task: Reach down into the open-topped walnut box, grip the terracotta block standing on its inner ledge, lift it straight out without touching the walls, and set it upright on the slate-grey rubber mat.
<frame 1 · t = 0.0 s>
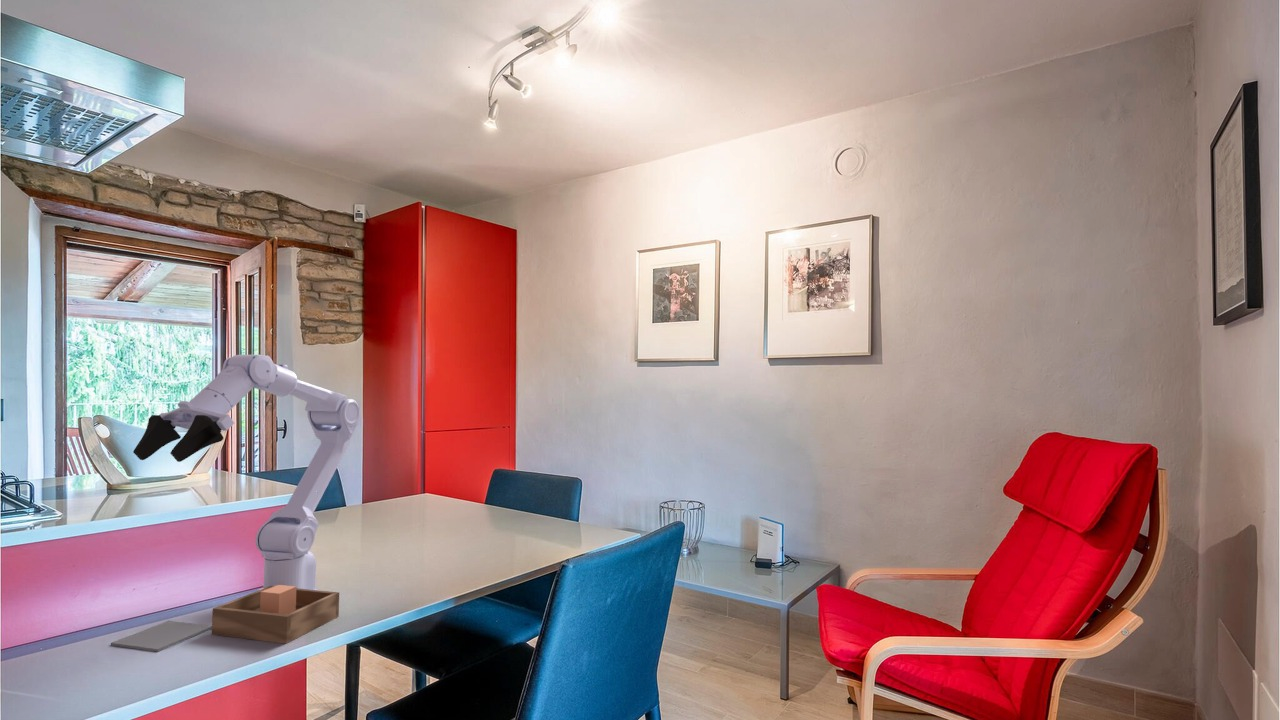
hand: (156, 456, 100), 32 cm above the table, tool tilted 50°, fingers open, 7 cm apart
slate mat: (163, 636, 106), on the table
walnut box: (277, 625, 111), on the table
terracotta block: (277, 616, 111), point 1 cm above the table, touching walnut box
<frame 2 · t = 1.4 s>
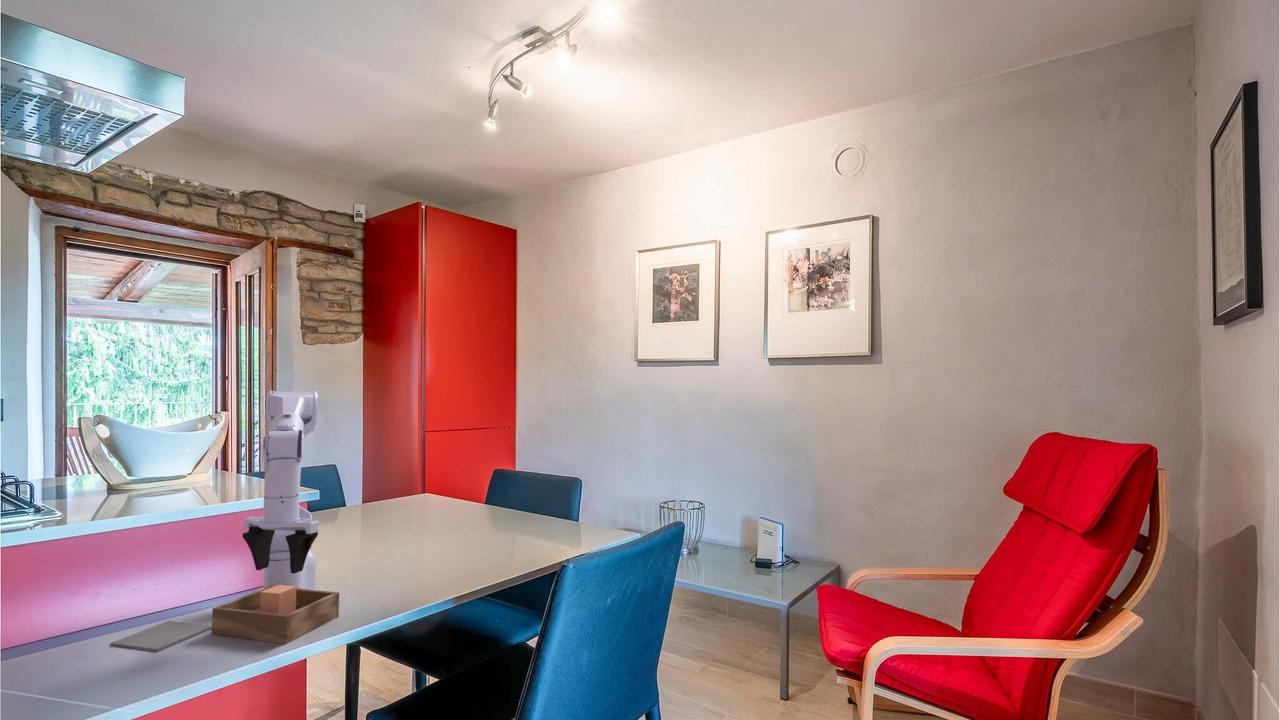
hand: (279, 570, 112), 10 cm above the table, tool pointing down, fingers open, 7 cm apart
nothing on the table moved.
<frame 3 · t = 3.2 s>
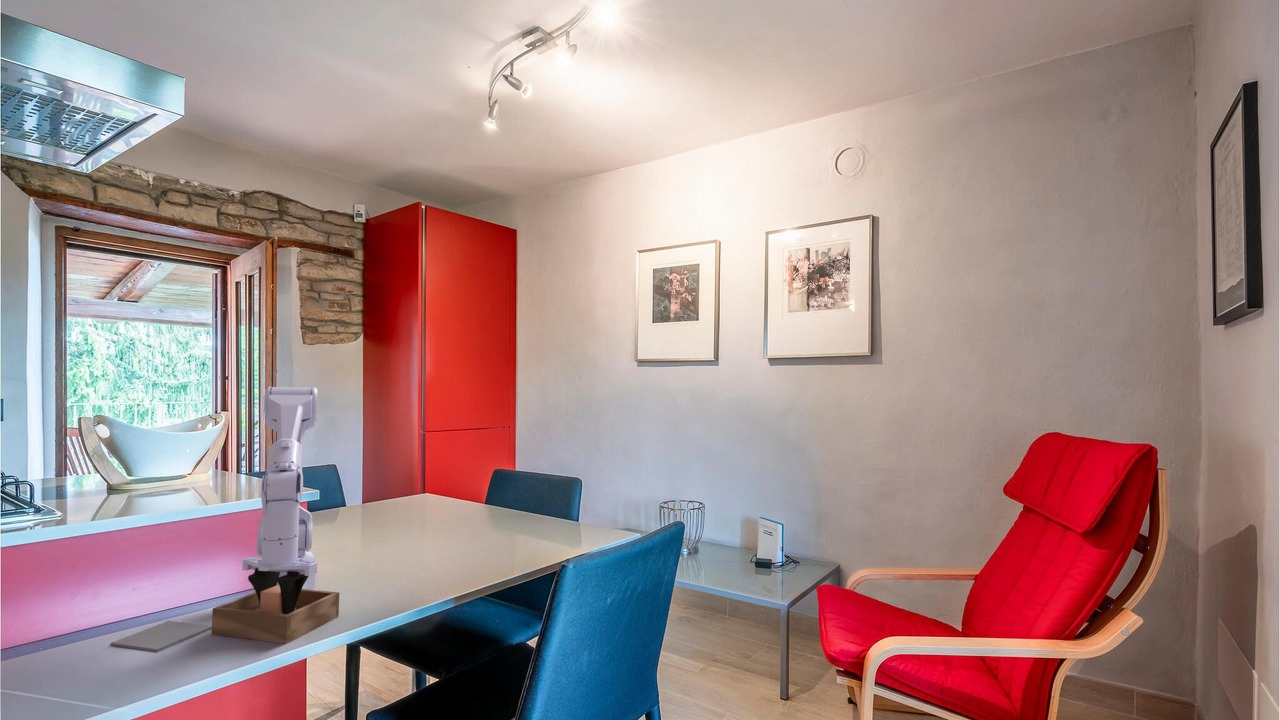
hand: (278, 611, 111), 2 cm above the table, tool pointing down, fingers closed on terracotta block, 4 cm apart
terracotta block: (277, 616, 111), point 1 cm above the table, touching gripper, walnut box
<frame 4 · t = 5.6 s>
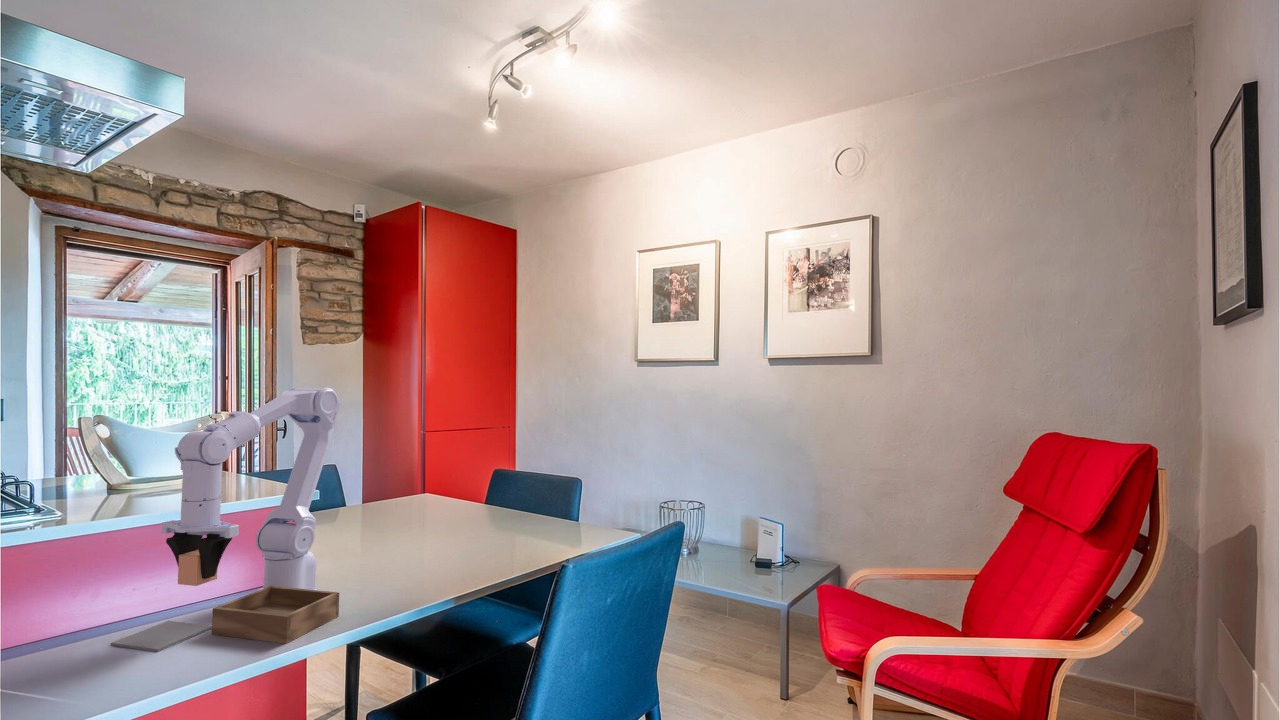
hand: (197, 576, 108), 10 cm above the table, tool pointing down, fingers closed on terracotta block, 4 cm apart
terracotta block: (197, 581, 107), point 9 cm above the table, touching gripper
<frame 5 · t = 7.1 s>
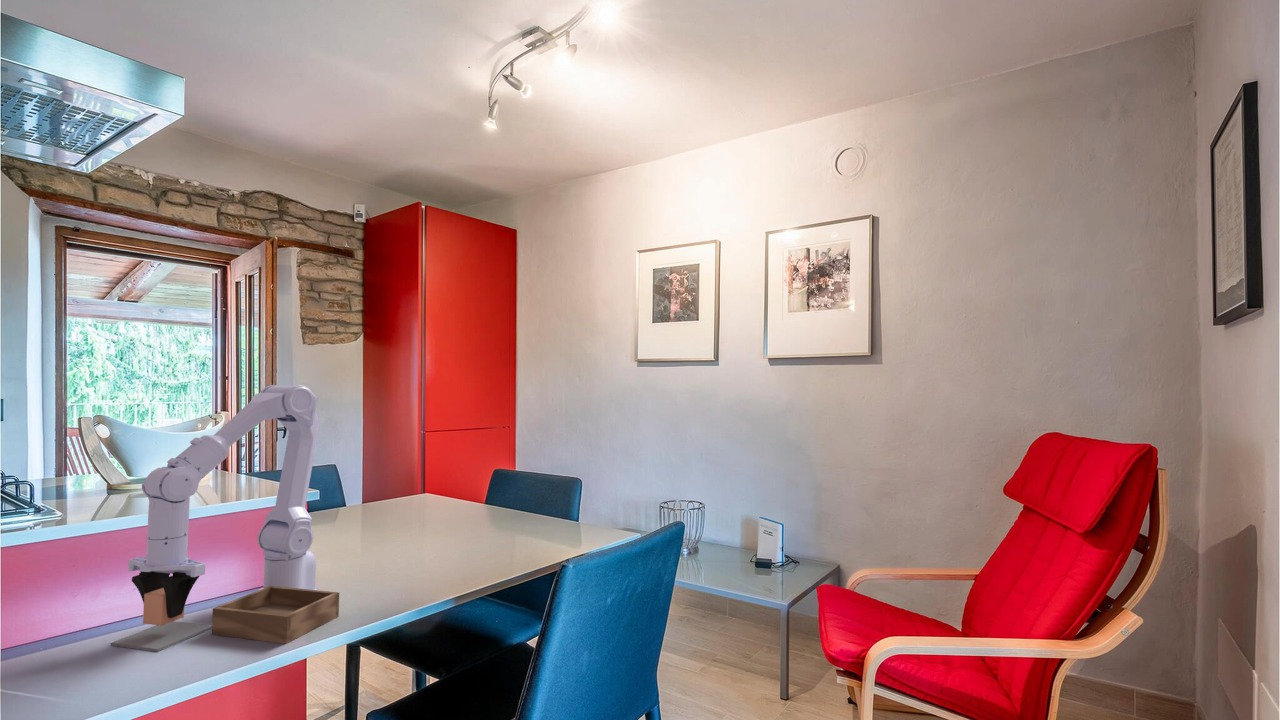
hand: (164, 614, 106), 4 cm above the table, tool pointing down, fingers closed on terracotta block, 4 cm apart
terracotta block: (163, 620, 106), point 3 cm above the table, touching gripper
when the fingers open (3 cm above the table, at t = 8.1 s): terracotta block drops 2 cm, resting on slate mat.
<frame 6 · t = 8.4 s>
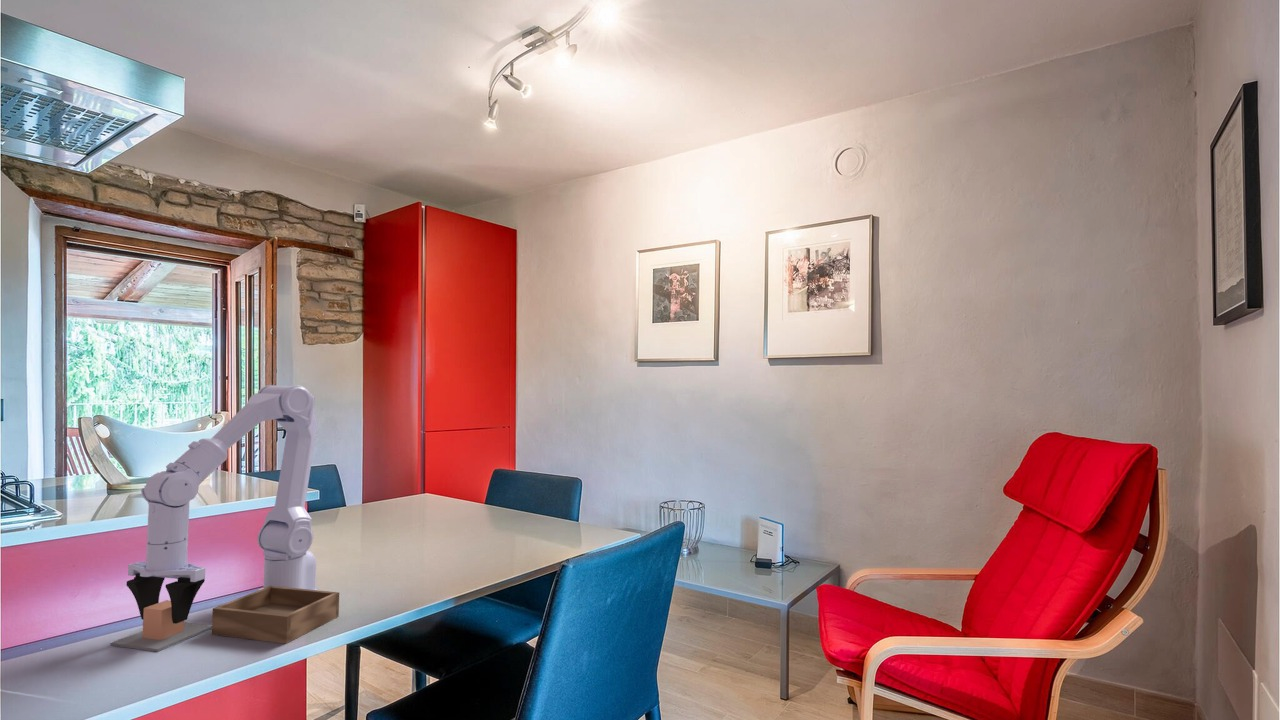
hand: (164, 619, 106), 3 cm above the table, tool pointing down, fingers open, 6 cm apart
terracotta block: (163, 634, 106), resting on slate mat
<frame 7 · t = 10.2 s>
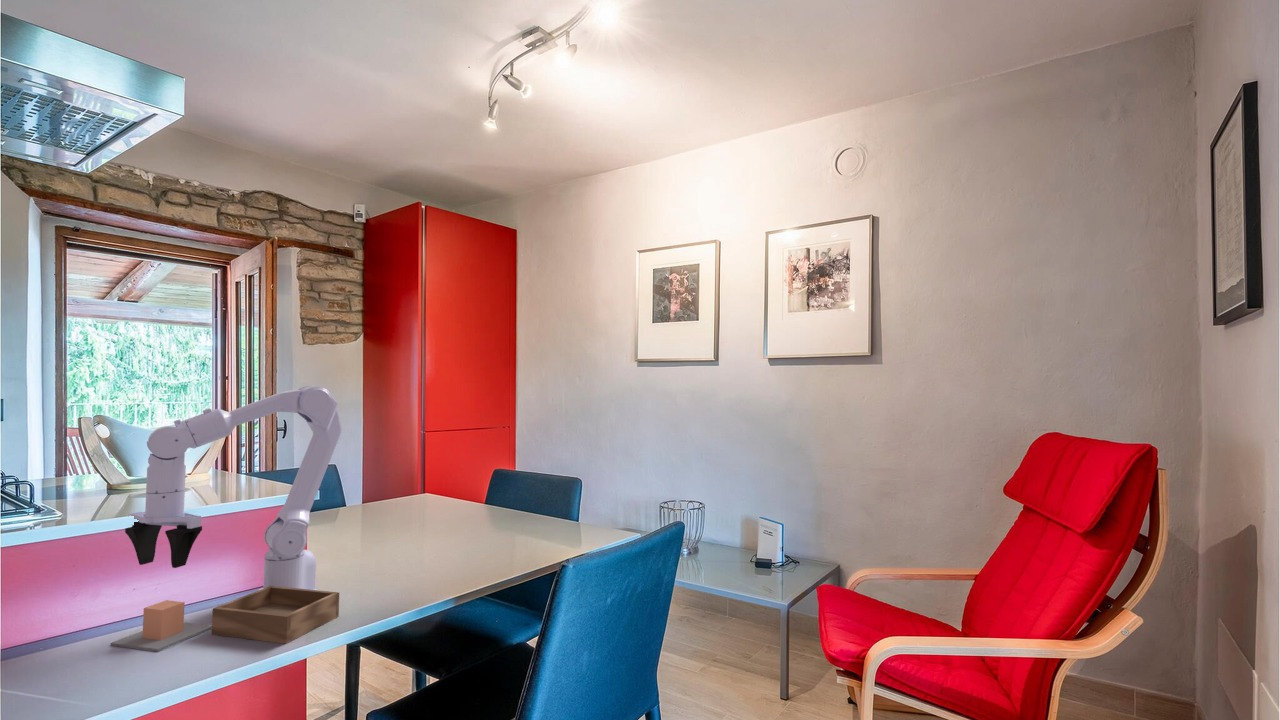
hand: (162, 564, 113), 10 cm above the table, tool pointing down, fingers open, 7 cm apart
nothing on the table moved.
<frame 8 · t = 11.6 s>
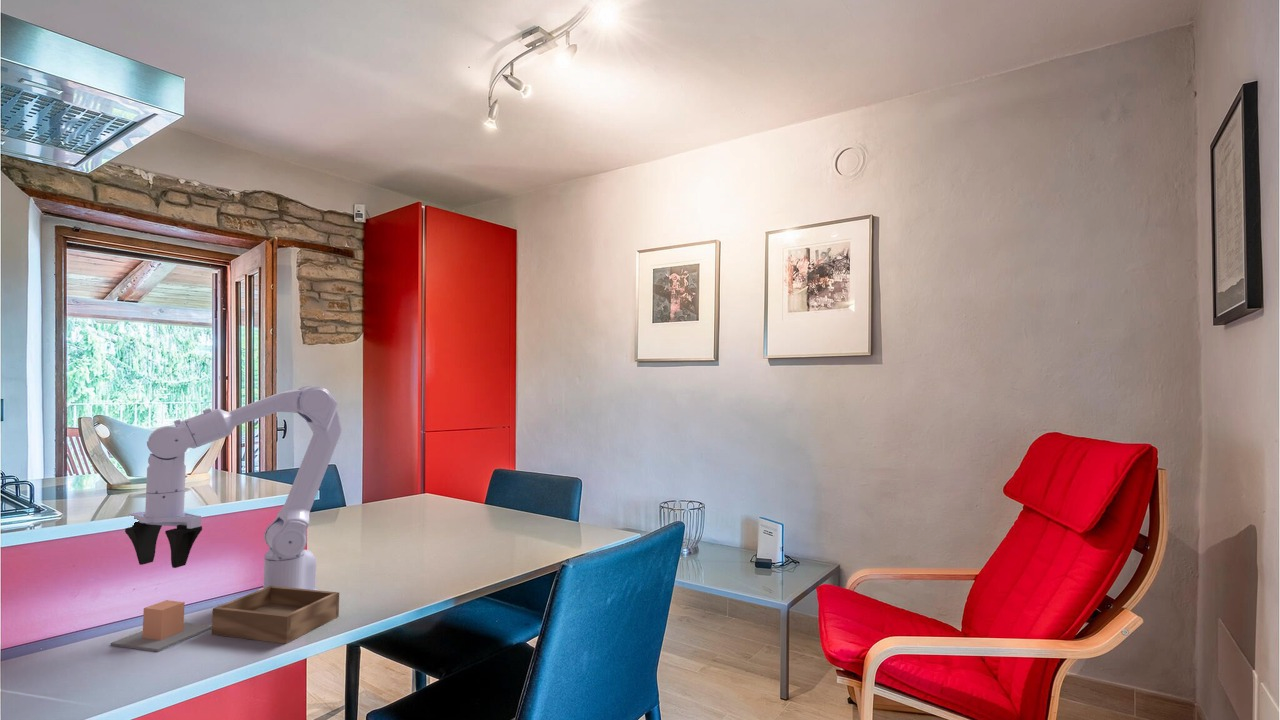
hand: (162, 564, 113), 10 cm above the table, tool pointing down, fingers open, 7 cm apart
nothing on the table moved.
at the end: terracotta block inside the target area on the slate mat (0.1 cm from its centre), point 0.4 cm above the slate mat's base; terracotta block tilted 0°; terracotta block touching slate mat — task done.
